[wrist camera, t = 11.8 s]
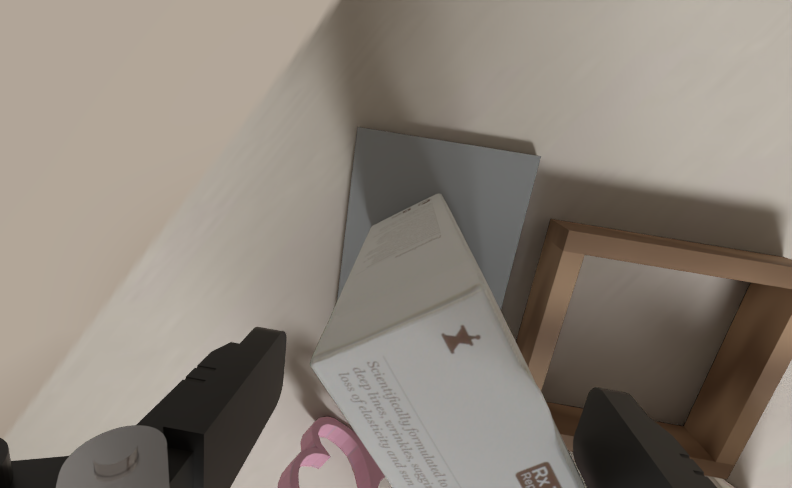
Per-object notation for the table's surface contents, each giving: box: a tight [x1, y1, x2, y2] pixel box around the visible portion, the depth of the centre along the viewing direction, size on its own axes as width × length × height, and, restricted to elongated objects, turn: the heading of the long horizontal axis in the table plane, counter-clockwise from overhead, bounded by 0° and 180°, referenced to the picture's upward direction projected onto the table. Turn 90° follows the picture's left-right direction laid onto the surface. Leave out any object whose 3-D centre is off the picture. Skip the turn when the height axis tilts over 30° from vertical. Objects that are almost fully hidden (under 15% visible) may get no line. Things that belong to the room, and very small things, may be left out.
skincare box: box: [310, 193, 585, 488], centre depth 14 cm, size 6×4×12 cm
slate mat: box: [337, 127, 541, 311], centre depth 20 cm, size 12×9×1 cm
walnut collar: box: [516, 219, 792, 479], centre depth 19 cm, size 12×12×2 cm
